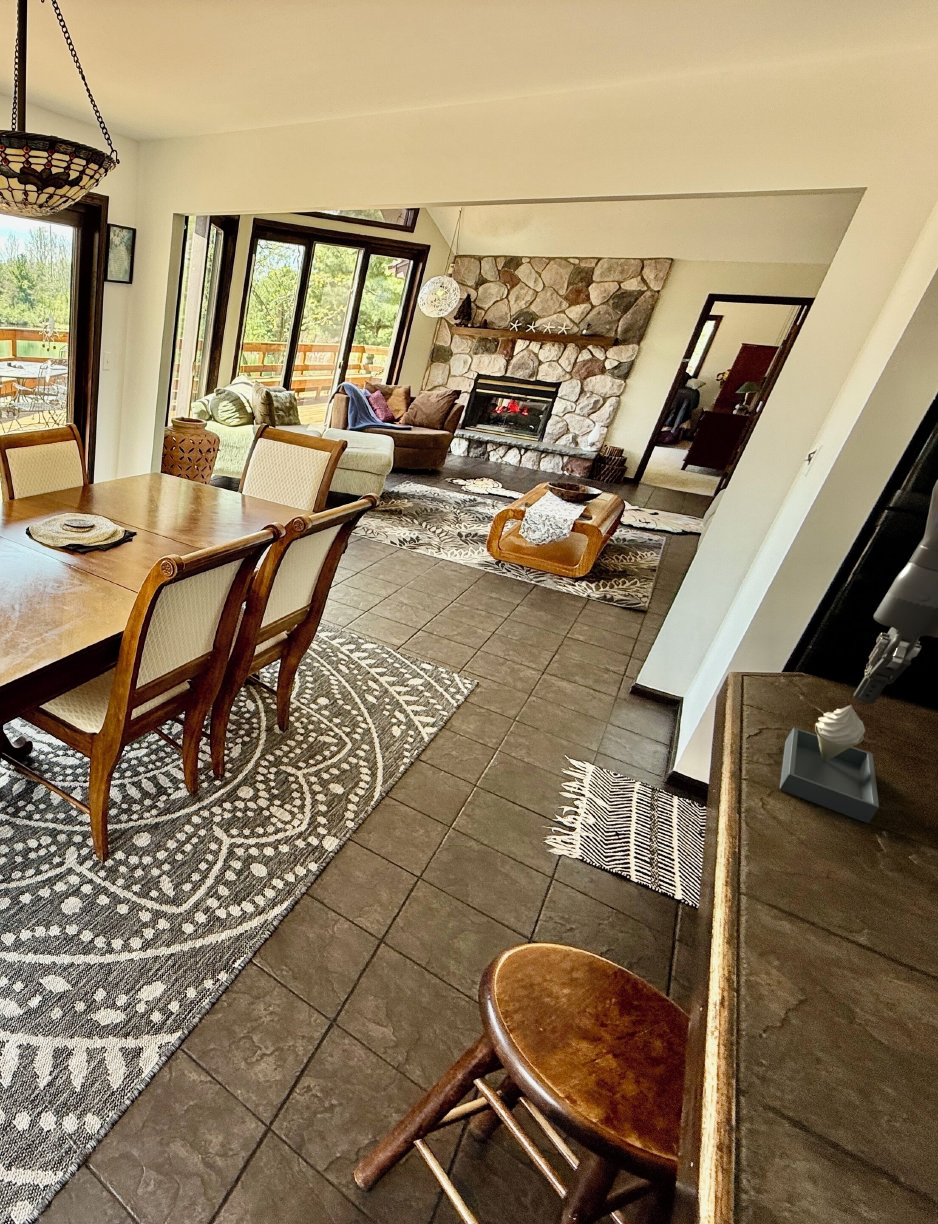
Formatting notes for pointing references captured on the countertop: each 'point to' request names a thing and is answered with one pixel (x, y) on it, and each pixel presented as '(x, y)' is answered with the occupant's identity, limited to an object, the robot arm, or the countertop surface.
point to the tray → (830, 776)
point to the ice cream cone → (838, 732)
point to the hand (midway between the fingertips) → (862, 700)
